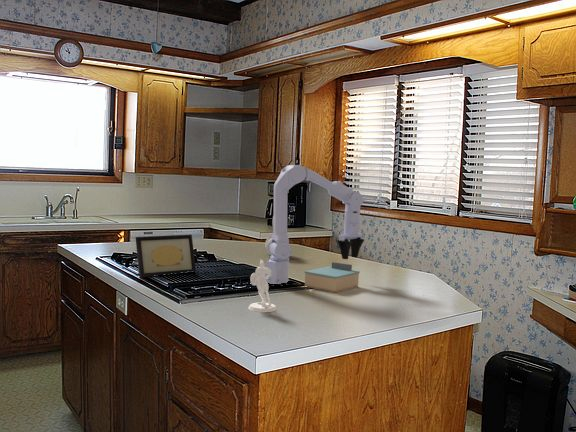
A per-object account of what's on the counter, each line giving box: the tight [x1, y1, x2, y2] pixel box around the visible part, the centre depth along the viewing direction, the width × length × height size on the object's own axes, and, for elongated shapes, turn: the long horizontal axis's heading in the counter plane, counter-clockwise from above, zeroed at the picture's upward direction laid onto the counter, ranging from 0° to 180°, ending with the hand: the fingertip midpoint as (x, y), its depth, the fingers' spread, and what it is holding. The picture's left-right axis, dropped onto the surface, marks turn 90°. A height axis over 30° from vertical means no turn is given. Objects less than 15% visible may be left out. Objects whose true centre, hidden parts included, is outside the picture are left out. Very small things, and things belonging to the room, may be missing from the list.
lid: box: [304, 261, 361, 279], centre depth 212 cm, size 16×13×3 cm
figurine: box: [247, 259, 278, 313], centre depth 175 cm, size 9×9×15 cm
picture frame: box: [135, 234, 197, 279], centre depth 222 cm, size 23×9×15 cm, turn 129°
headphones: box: [264, 215, 274, 256], centre depth 278 cm, size 18×10×20 cm, turn 4°
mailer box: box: [304, 272, 360, 294], centre depth 213 cm, size 16×13×5 cm
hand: (349, 258), depth 222 cm, fingers open, 7 cm apart
